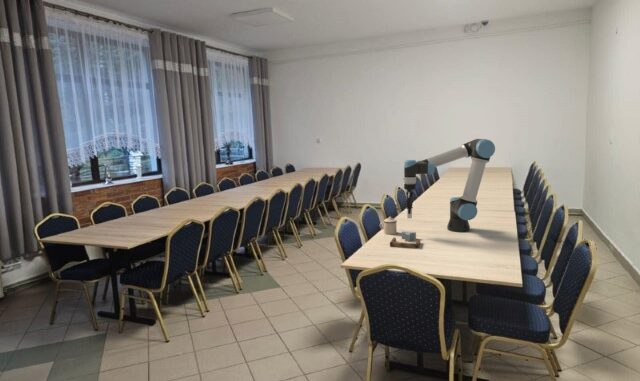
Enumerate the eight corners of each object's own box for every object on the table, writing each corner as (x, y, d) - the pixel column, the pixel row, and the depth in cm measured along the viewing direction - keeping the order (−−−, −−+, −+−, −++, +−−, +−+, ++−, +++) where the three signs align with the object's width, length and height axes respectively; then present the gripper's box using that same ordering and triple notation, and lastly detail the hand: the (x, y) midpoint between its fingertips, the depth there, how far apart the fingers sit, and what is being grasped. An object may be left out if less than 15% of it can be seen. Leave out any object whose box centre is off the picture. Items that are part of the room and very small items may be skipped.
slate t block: (416, 238, 265) (416, 231, 264) (414, 241, 258) (414, 234, 257) (402, 237, 268) (402, 231, 268) (400, 240, 261) (400, 234, 260)
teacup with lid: (398, 231, 283) (398, 215, 281) (395, 235, 275) (394, 218, 273) (381, 230, 288) (381, 214, 286) (378, 233, 280) (377, 217, 278)
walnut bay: (420, 242, 254) (420, 239, 254) (417, 248, 243) (417, 244, 243) (393, 241, 260) (393, 237, 260) (390, 246, 249) (389, 242, 249)
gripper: (405, 181, 273) (405, 215, 277) (402, 184, 261) (402, 219, 265) (417, 182, 270) (416, 216, 274) (414, 184, 258) (413, 220, 262)
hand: (409, 218), depth 269 cm, fingers closed
